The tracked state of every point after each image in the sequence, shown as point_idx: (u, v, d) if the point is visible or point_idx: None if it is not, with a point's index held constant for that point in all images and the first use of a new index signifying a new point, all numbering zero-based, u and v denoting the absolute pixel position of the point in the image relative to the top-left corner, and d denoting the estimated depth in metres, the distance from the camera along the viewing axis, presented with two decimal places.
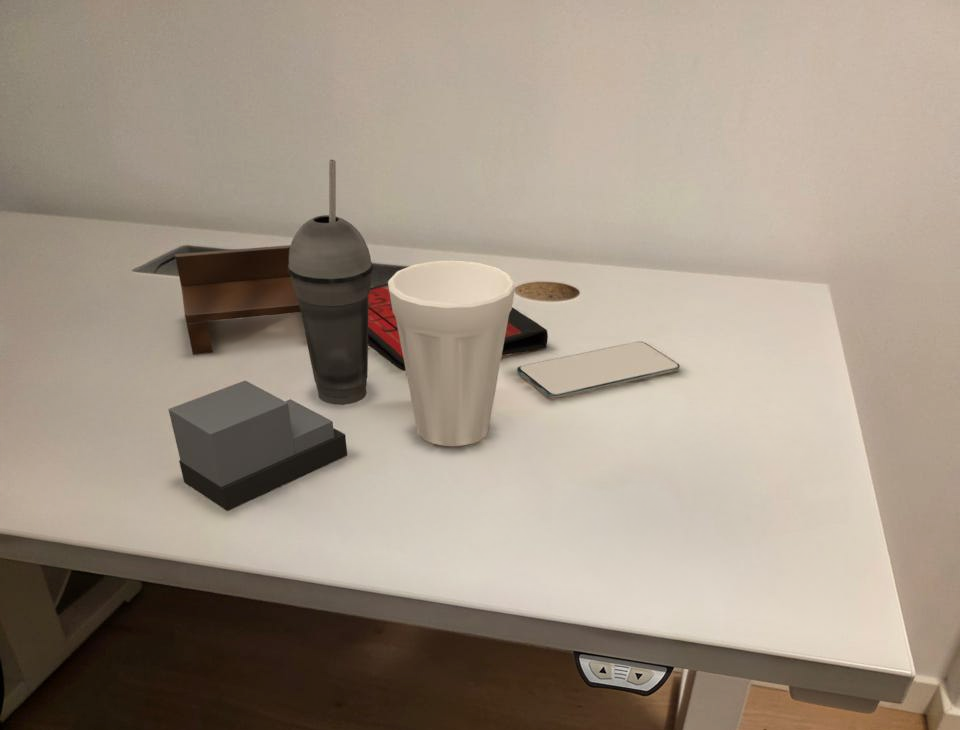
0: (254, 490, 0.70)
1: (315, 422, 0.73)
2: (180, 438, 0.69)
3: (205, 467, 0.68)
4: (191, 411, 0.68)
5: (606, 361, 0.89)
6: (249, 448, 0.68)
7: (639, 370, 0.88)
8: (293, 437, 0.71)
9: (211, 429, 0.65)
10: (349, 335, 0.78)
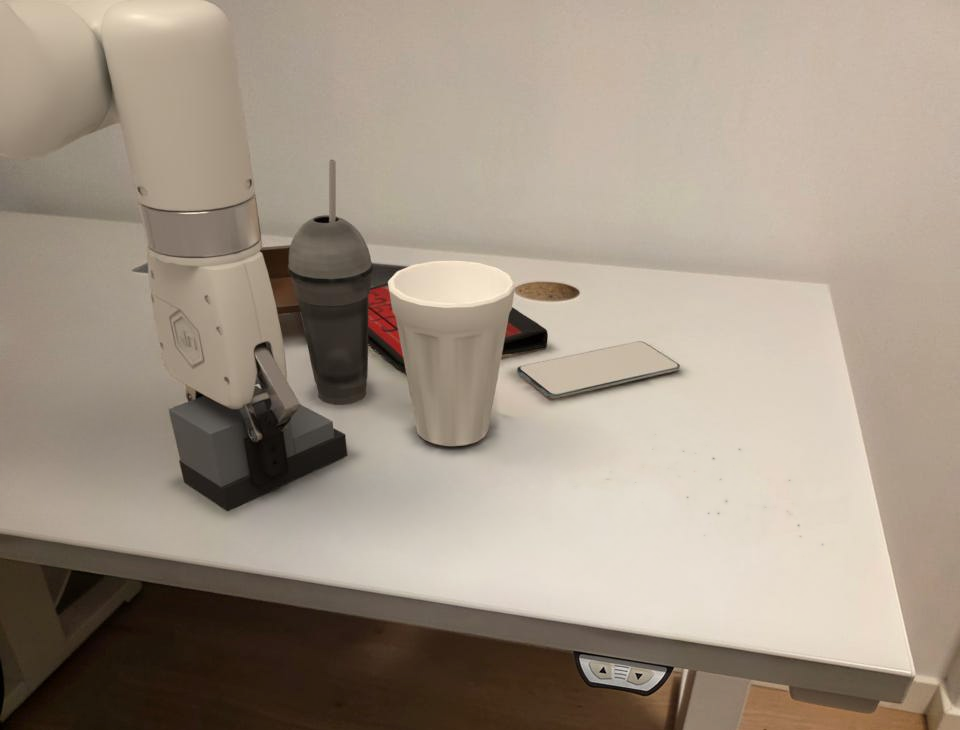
0: (254, 490, 0.70)
1: (315, 422, 0.73)
2: (180, 438, 0.69)
3: (205, 467, 0.68)
4: (191, 411, 0.68)
5: (606, 361, 0.89)
6: None
7: (639, 369, 0.88)
8: (293, 437, 0.71)
9: (211, 429, 0.65)
10: (349, 335, 0.78)
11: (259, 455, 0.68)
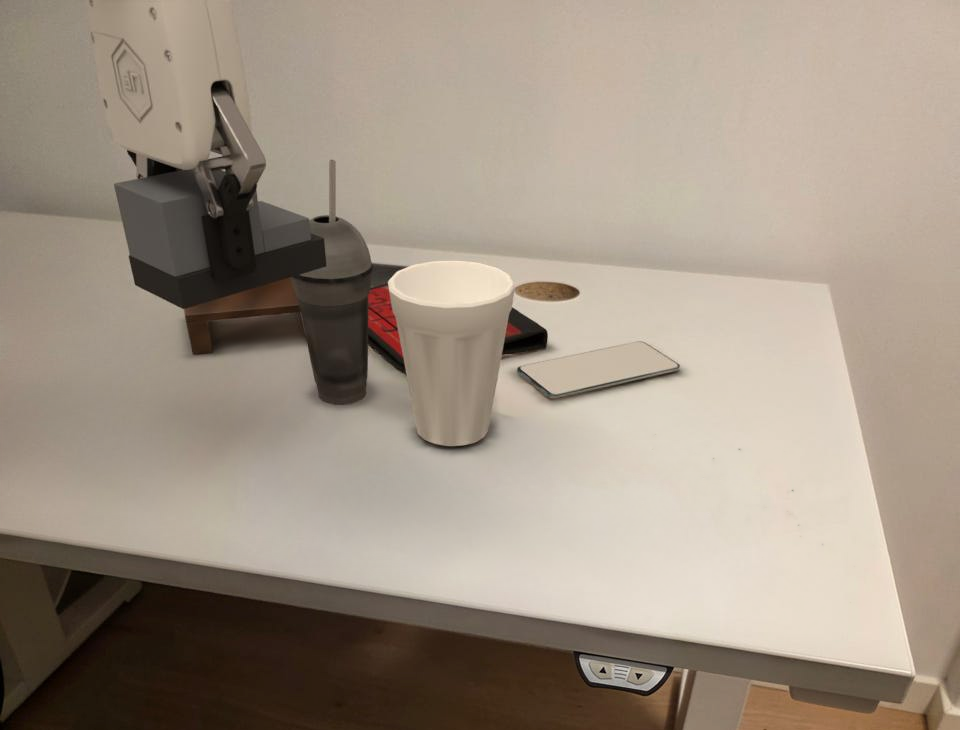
0: (215, 288, 0.60)
1: (288, 218, 0.63)
2: (128, 222, 0.59)
3: (157, 254, 0.58)
4: (140, 185, 0.57)
5: (606, 361, 0.89)
6: None
7: (639, 369, 0.88)
8: (262, 229, 0.61)
9: (162, 198, 0.55)
10: (349, 335, 0.78)
11: (220, 239, 0.58)
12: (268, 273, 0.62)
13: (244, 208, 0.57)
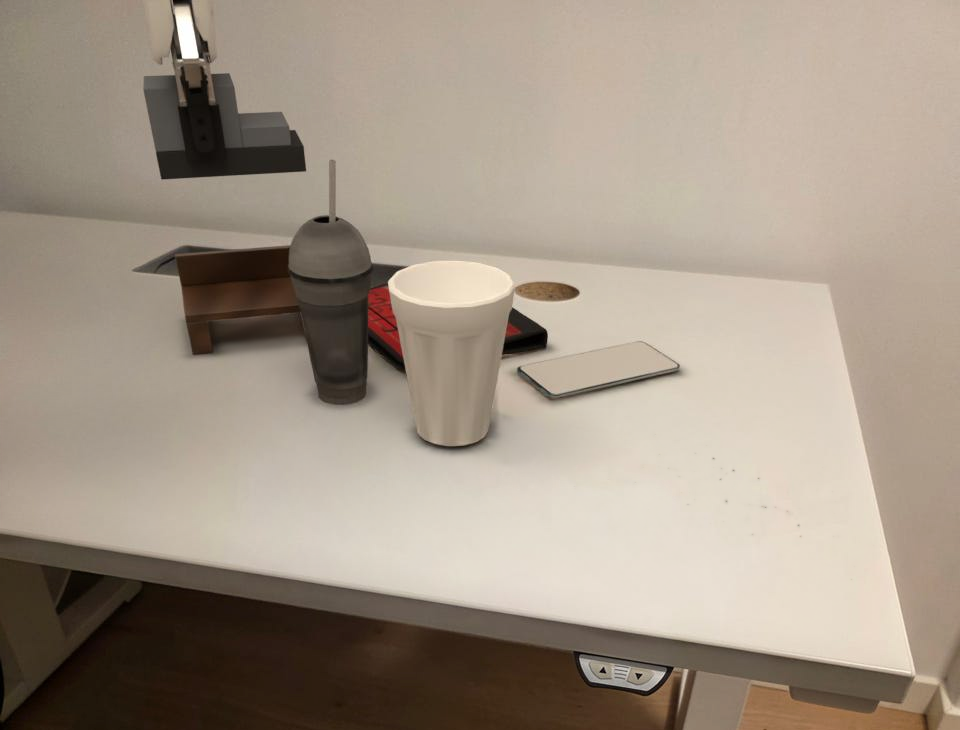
0: (192, 168, 0.75)
1: (274, 124, 0.75)
2: None
3: None
4: (156, 79, 0.74)
5: (606, 361, 0.89)
6: None
7: (639, 369, 0.88)
8: (241, 127, 0.74)
9: (149, 87, 0.71)
10: (349, 335, 0.78)
11: (191, 127, 0.72)
12: (244, 165, 0.76)
13: (206, 103, 0.71)
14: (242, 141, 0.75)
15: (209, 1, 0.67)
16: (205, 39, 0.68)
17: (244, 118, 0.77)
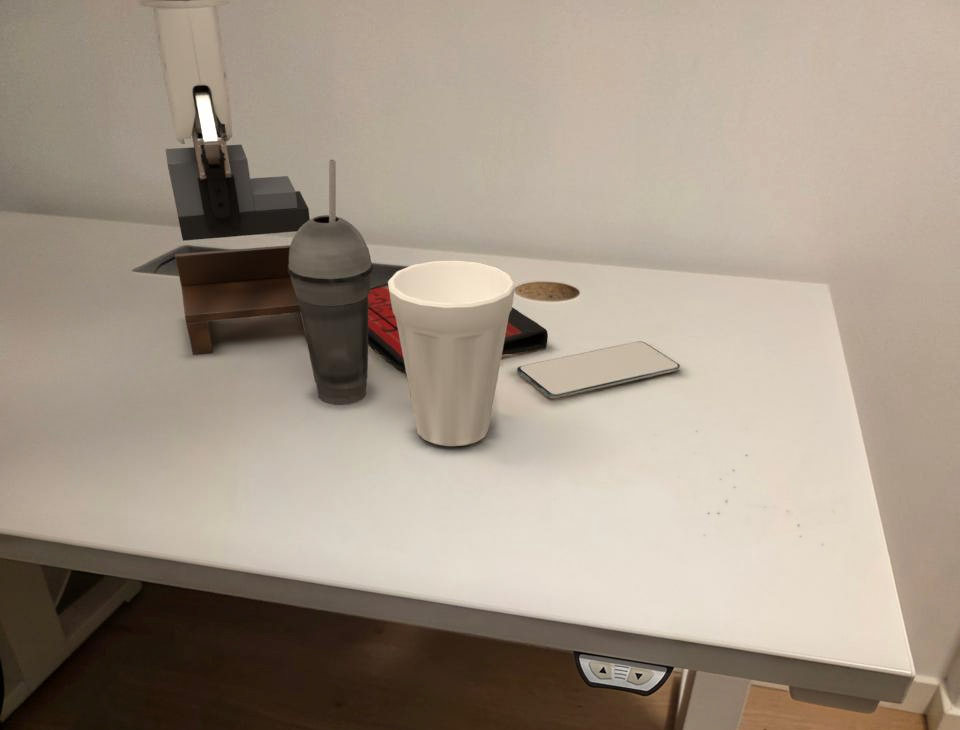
0: (210, 230, 0.84)
1: (282, 189, 0.85)
2: None
3: None
4: (177, 152, 0.83)
5: (606, 361, 0.89)
6: None
7: (639, 369, 0.88)
8: (253, 194, 0.84)
9: (172, 162, 0.81)
10: (349, 335, 0.78)
11: (209, 196, 0.82)
12: (256, 227, 0.85)
13: (223, 176, 0.80)
14: (254, 206, 0.84)
15: (226, 90, 0.76)
16: (222, 122, 0.77)
17: (255, 184, 0.86)
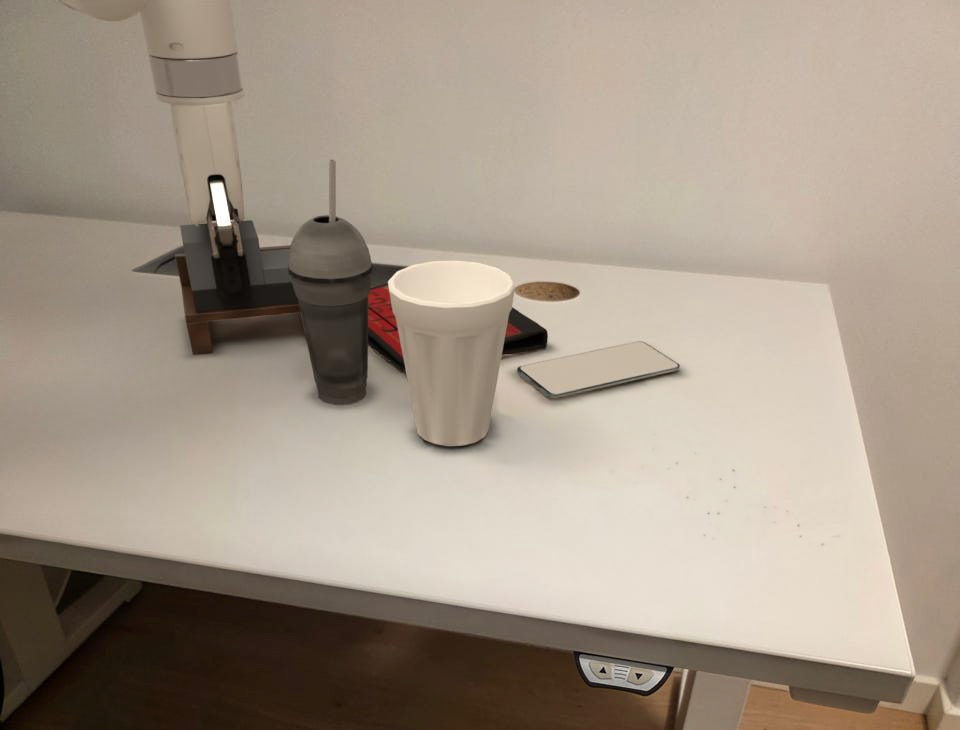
0: (222, 302, 0.89)
1: None
2: None
3: None
4: (191, 229, 0.88)
5: (606, 361, 0.89)
6: None
7: (639, 369, 0.88)
8: (263, 268, 0.88)
9: (187, 240, 0.85)
10: (349, 335, 0.78)
11: (222, 272, 0.86)
12: (266, 298, 0.90)
13: (235, 255, 0.85)
14: (264, 279, 0.89)
15: (239, 178, 0.81)
16: (235, 207, 0.82)
17: (265, 257, 0.91)
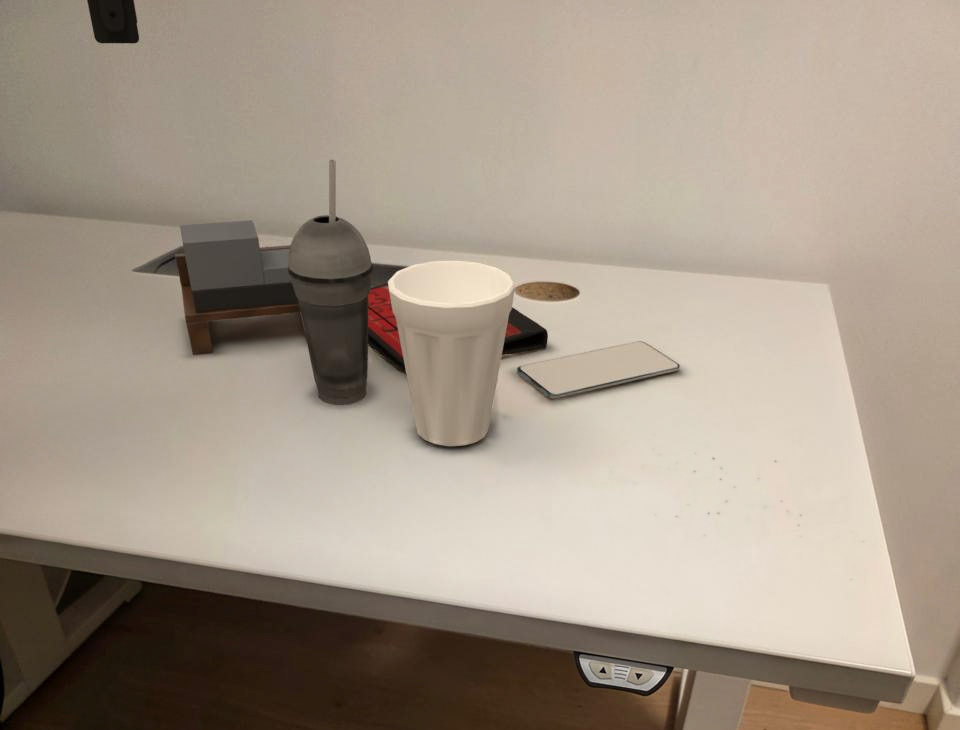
0: (222, 302, 0.89)
1: None
2: None
3: None
4: (191, 229, 0.88)
5: (606, 361, 0.89)
6: (219, 265, 0.87)
7: (639, 369, 0.88)
8: (263, 269, 0.88)
9: (187, 240, 0.85)
10: (349, 335, 0.78)
11: (98, 2, 0.67)
12: (266, 298, 0.90)
13: None
14: (264, 279, 0.89)
15: None
16: None
17: (264, 257, 0.91)
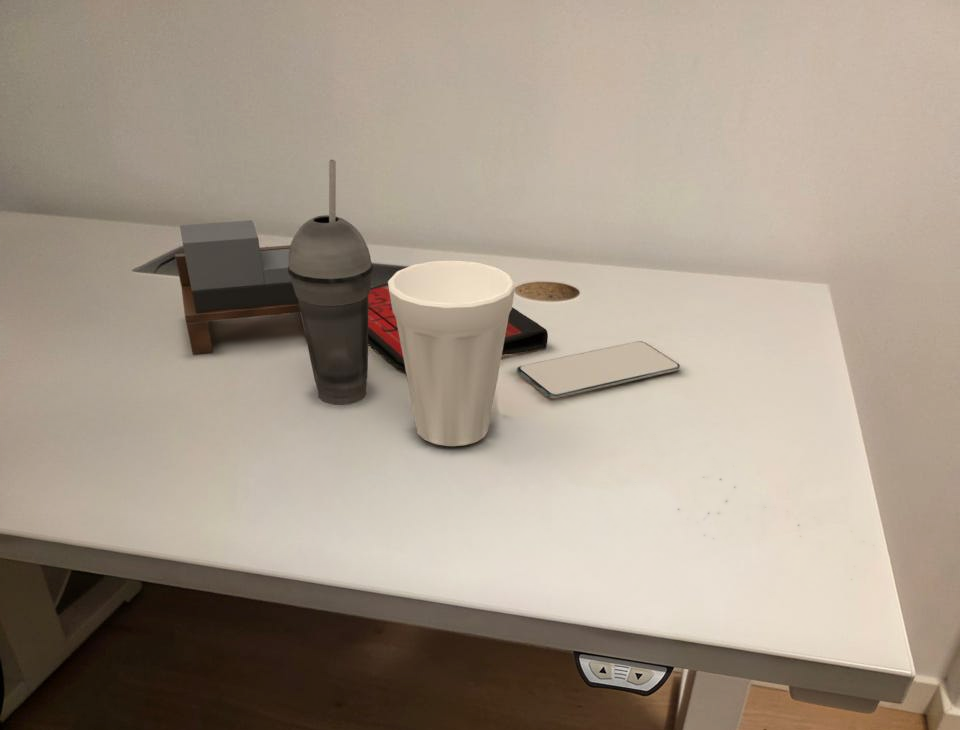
0: (222, 302, 0.89)
1: None
2: None
3: None
4: (191, 229, 0.88)
5: (606, 361, 0.89)
6: (219, 265, 0.87)
7: (639, 369, 0.88)
8: (263, 269, 0.88)
9: (187, 240, 0.85)
10: (349, 335, 0.78)
11: None
12: (266, 298, 0.90)
13: None
14: (264, 279, 0.89)
15: None
16: None
17: (264, 257, 0.91)
